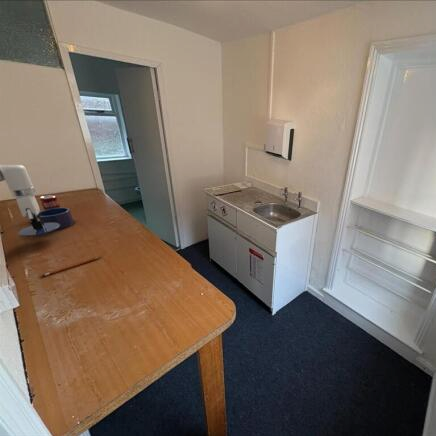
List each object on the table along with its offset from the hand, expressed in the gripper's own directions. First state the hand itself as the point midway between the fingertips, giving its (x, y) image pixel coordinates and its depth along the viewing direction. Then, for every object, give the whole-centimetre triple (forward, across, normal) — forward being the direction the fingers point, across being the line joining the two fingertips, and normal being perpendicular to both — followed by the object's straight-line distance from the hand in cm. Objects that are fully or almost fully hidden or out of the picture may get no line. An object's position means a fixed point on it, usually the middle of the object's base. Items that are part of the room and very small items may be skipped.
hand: (39, 226), depth 115 cm
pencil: (+8, +36, +12) cm, 39 cm away
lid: (+2, 0, 0) cm, 2 cm away
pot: (+8, -19, +4) cm, 21 cm away
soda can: (+8, -40, +1) cm, 41 cm away
